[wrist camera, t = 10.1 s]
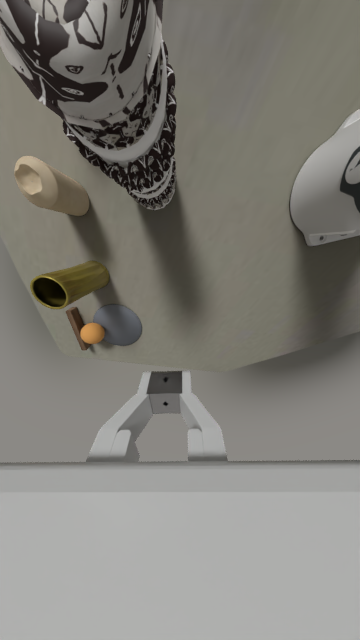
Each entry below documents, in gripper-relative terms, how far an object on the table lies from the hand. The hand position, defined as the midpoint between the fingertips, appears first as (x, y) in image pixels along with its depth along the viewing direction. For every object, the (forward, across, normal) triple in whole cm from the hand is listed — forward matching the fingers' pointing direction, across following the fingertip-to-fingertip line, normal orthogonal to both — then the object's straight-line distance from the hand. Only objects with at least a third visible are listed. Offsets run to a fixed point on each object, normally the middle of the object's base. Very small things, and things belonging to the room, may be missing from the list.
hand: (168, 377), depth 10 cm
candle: (+29, +19, -16) cm, 38 cm away
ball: (+26, +23, +13) cm, 37 cm away
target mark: (+29, +17, +12) cm, 36 cm away
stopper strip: (+28, +27, +12) cm, 41 cm away
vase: (+29, +19, -2) cm, 35 cm away
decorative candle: (+29, +4, -17) cm, 34 cm away
